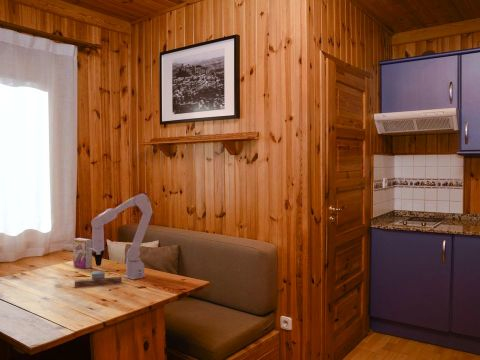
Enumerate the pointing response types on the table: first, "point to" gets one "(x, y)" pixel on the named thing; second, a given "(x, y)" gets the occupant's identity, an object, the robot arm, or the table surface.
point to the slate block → (98, 274)
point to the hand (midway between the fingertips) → (98, 265)
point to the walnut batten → (98, 281)
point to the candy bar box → (82, 253)
